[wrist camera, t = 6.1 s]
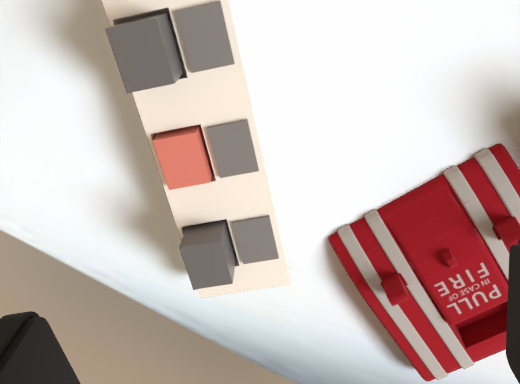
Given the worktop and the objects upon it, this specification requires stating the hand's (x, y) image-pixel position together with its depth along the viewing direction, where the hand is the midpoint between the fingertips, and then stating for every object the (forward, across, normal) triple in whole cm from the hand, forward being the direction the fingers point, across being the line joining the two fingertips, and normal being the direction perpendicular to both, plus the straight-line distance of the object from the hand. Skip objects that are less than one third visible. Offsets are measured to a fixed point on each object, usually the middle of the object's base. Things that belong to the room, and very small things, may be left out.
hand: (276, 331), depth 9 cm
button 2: (+27, +8, +5) cm, 29 cm away
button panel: (+28, +6, +2) cm, 29 cm away
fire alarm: (+29, -13, +22) cm, 39 cm away
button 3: (+25, +8, +13) cm, 29 cm away
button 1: (+25, +8, -3) cm, 27 cm away
